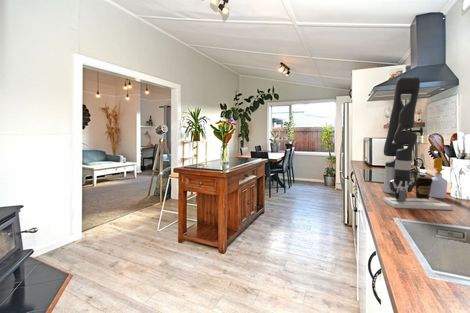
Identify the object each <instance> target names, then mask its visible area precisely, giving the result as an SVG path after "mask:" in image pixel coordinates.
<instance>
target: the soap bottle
mask: <svg viewBox="0 0 470 313" xmlns="http://www.w3.org/2000/svg"><path fill="white" fill-rule="evenodd" d="M444 160H446V157H436V158H434V160H433V169H434V170H435V171H436V172H435V174H434V176H433V177H431V178H432V180H433V181H432V183H431V191H430V194H429V198H432V199H446V198H447V191H448V190H447V189H448V180H447V179H446V178H444V177H443V173H441V172H442V171H445V168H443V161H444Z"/></svg>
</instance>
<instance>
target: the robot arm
mask: <svg viewBox="0 0 470 313" xmlns="http://www.w3.org/2000/svg"><path fill="white" fill-rule="evenodd" d="M420 86H421V80H420V77H418V76H416V77H415V76H408V77H407V76H405V77H399V78H398V79H397V80H396V83H395V88H394V98H393V105H392V109H391V114H390V118H389V121H388V122H389V123H388V130H387V135H386V137H385V143H384V146H383V155H384V156H385V157H395V158H394V159H392V160H388V161H386V162H385V166H384V177H383V193H387V194H392V195H393V194H394V195H393V196H394V197H393V198H395V199H399V193H398V192H399V189H404V190H406V198H408V193H411V192H412V191H413V189H414V187H416V181H412V180H411V175H412V156H413V155H412V154H413V151H414V147H415V145H416V143H417V141H418V135H417V133H416V132H415V131H406V130H410V129H412V128H414V126H415V125H414V124H415V112H416V107H417V103H418V96H419V93H420ZM402 95H411V96H410V98H409V100H408V101H407V103H406V104H405V105H404V103H403V100H402V97H401V96H402ZM405 145H406V146H407V147H406V148H405Z"/></svg>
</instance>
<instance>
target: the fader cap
mask: <svg viewBox="0 0 470 313" xmlns="http://www.w3.org/2000/svg"><path fill="white" fill-rule="evenodd" d="M398 193H399V199H396V200H398V201H406V190H404V189H403V188H400V189H399V192H398Z"/></svg>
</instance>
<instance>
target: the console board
mask: <svg viewBox="0 0 470 313" xmlns="http://www.w3.org/2000/svg"><path fill="white" fill-rule="evenodd" d="M382 202H384V203H385V204H387V205H389V206H390V207H392V208H395V209H396V208H397V209H419V210H420V209H421V210H422V209H423V210H445V211H446V210H447V211H451V210H452V205H450V204H448V203H445V202H443V201H441V200H437V199H436V198H429V199H418V198H412V197H409V198H408V197H407V198H406V201H398V200H396V199H395V197H385V196H384V197H382Z"/></svg>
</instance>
